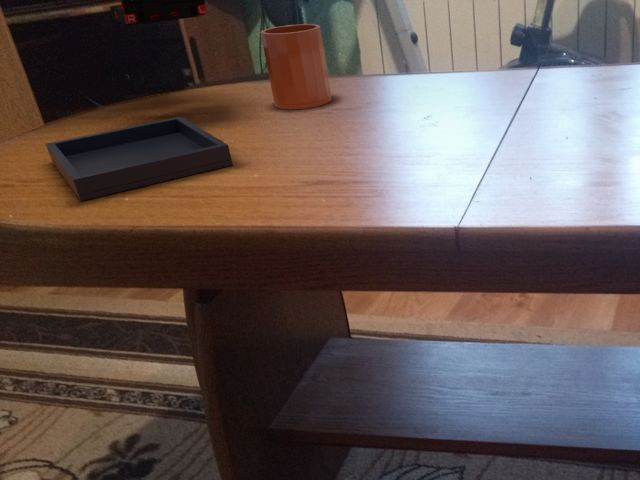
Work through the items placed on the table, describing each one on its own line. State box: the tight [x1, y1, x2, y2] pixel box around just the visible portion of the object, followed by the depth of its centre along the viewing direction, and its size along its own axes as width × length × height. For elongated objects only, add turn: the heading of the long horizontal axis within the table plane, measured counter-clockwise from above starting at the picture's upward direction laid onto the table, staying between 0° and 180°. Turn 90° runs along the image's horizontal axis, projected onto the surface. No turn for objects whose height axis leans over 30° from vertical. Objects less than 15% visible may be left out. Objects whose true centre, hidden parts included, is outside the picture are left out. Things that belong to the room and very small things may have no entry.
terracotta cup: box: [260, 23, 333, 110], centre depth 94 cm, size 7×7×9 cm
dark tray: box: [45, 116, 233, 202], centre depth 77 cm, size 17×15×2 cm
